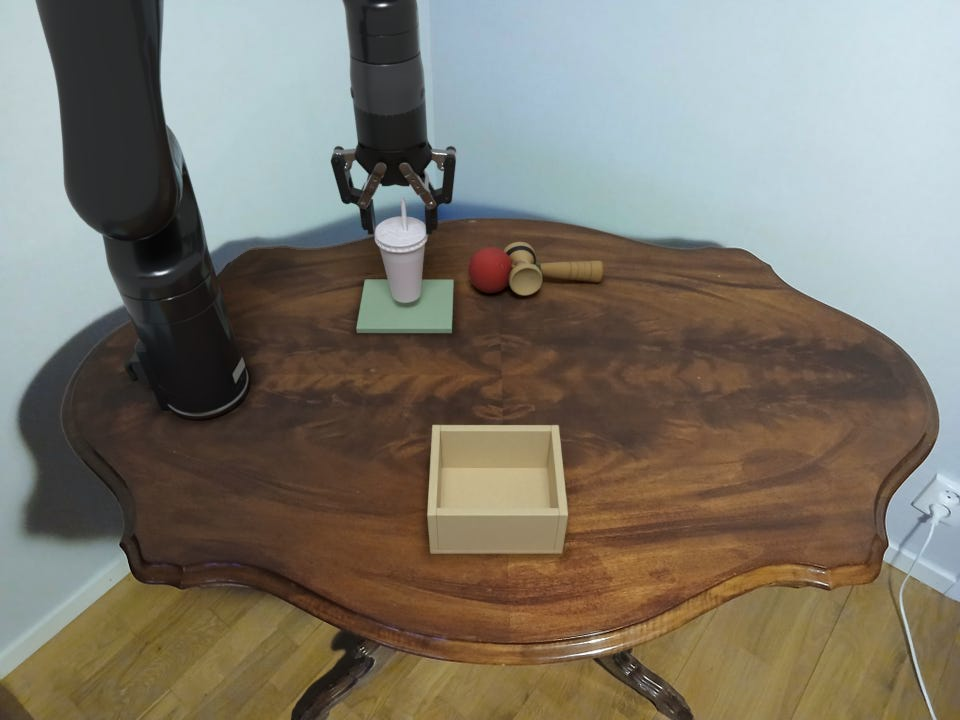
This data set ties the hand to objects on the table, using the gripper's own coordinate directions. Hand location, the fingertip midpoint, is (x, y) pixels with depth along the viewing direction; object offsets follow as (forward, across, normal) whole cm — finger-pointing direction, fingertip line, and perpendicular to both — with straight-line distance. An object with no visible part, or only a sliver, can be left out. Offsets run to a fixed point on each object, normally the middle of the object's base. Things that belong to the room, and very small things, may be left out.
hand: (400, 230), depth 87 cm
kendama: (+12, -17, -5) cm, 22 cm away
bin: (+12, -11, +31) cm, 35 cm away
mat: (+12, 0, 0) cm, 12 cm away
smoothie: (+10, 0, 0) cm, 10 cm away
